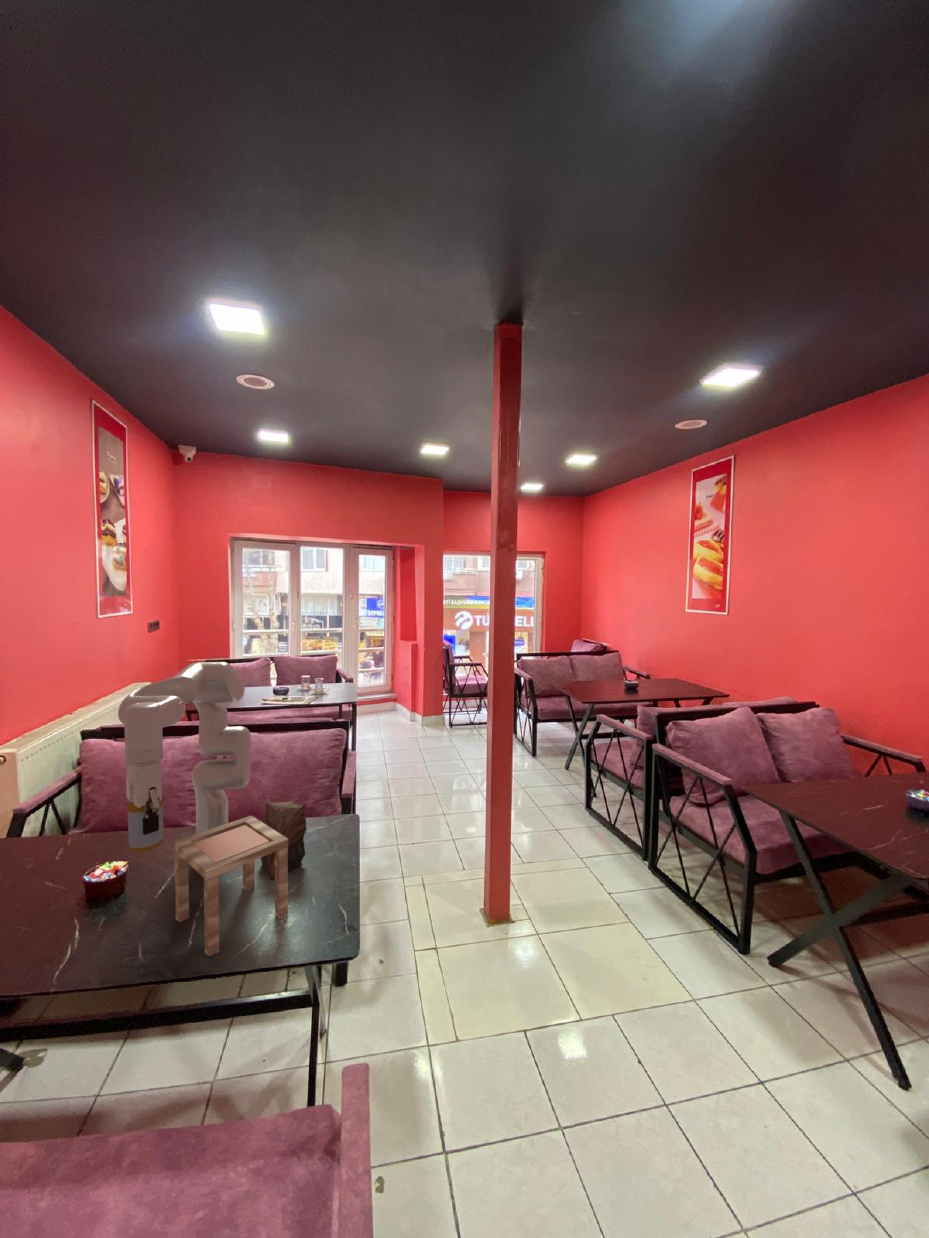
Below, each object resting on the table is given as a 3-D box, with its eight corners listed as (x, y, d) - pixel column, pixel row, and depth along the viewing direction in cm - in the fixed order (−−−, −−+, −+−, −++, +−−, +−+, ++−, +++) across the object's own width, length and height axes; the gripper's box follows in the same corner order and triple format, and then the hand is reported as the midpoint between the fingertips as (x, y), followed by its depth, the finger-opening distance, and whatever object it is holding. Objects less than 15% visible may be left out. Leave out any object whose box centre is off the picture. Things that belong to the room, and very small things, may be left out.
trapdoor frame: (174, 918, 128) (173, 842, 127) (251, 883, 144) (251, 815, 143) (207, 957, 114) (206, 872, 113) (288, 914, 130) (288, 838, 129)
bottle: (170, 840, 118) (169, 781, 117) (143, 855, 111) (141, 792, 110) (149, 836, 120) (148, 777, 119) (121, 850, 113) (120, 788, 113)
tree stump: (257, 863, 155) (257, 803, 154) (296, 850, 163) (296, 793, 162) (269, 881, 145) (269, 817, 144) (310, 867, 153) (310, 806, 152)
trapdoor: (192, 846, 128) (192, 842, 128) (244, 827, 138) (244, 824, 138) (215, 866, 118) (215, 862, 118) (269, 844, 129) (269, 841, 129)
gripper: (115, 750, 117) (117, 821, 118) (137, 767, 106) (139, 846, 107) (150, 743, 123) (151, 811, 124) (175, 759, 112) (176, 833, 113)
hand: (146, 826), depth 115 cm, fingers closed on bottle, 6 cm apart
